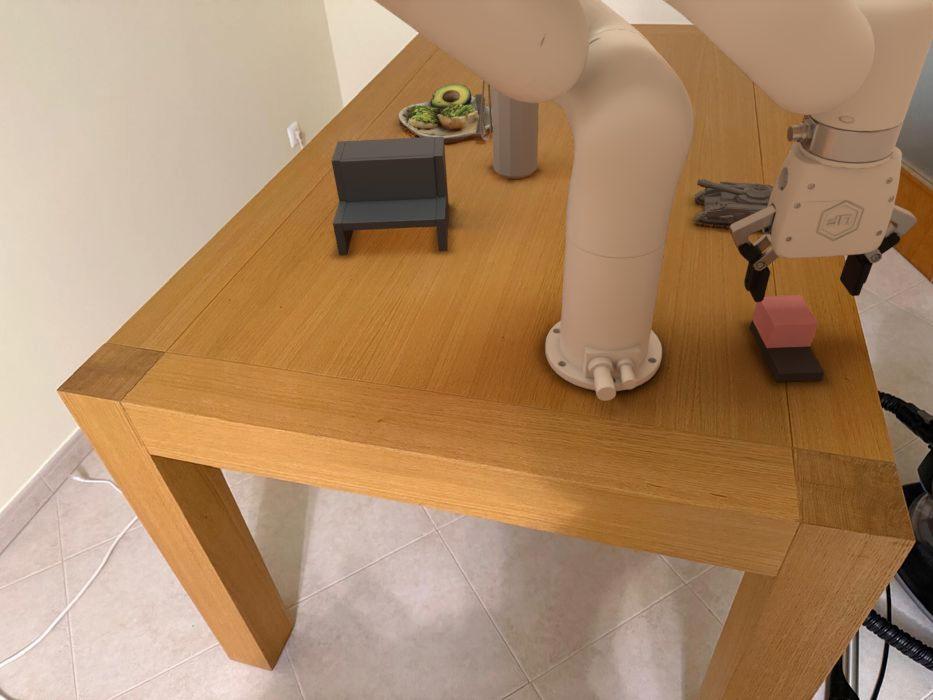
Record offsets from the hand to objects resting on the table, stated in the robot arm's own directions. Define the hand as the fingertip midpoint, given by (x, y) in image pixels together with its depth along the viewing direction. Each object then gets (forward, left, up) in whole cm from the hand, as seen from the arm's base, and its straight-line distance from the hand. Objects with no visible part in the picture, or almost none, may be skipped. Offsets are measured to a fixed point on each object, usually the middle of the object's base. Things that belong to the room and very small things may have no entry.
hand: (801, 291), depth 71 cm
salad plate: (+64, +38, -7) cm, 75 cm away
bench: (+27, +45, -7) cm, 53 cm away
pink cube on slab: (-2, +1, -7) cm, 7 cm away
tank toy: (+27, -3, -7) cm, 28 cm away
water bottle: (+44, +28, -7) cm, 53 cm away
